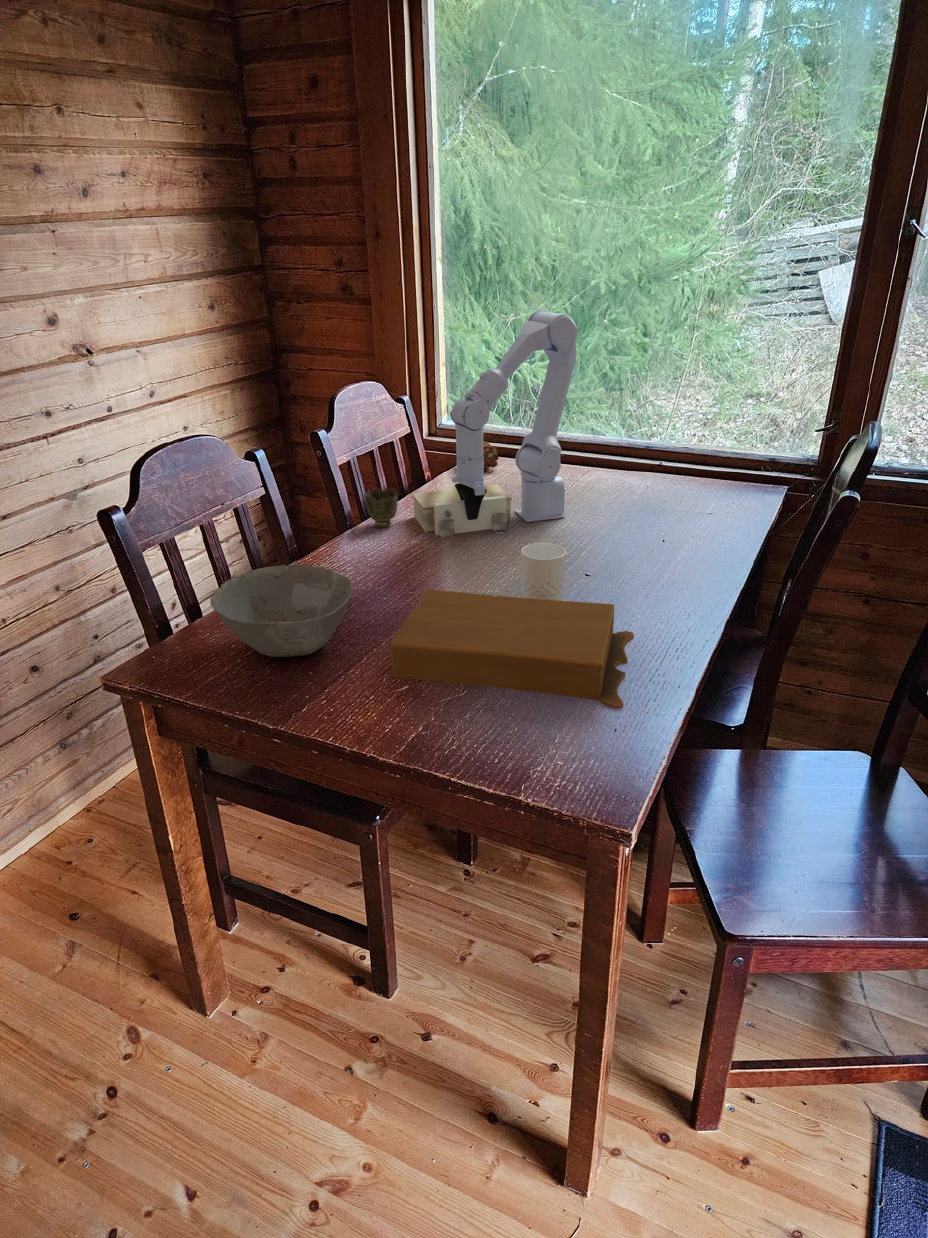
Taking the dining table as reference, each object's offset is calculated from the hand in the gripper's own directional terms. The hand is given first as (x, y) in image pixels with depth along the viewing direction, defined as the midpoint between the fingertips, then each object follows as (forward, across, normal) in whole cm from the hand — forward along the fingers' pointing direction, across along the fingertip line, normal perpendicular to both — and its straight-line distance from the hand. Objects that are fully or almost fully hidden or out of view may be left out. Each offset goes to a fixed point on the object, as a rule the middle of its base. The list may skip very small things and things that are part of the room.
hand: (470, 517), depth 183 cm
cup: (+3, -9, -18) cm, 20 cm away
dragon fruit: (+3, -43, +15) cm, 46 cm away
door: (+3, 0, 0) cm, 3 cm away
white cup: (+3, +40, +1) cm, 40 cm away
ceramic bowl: (+3, +42, -44) cm, 61 cm away
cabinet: (+3, -5, 0) cm, 6 cm away
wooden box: (+4, +57, -10) cm, 58 cm away
